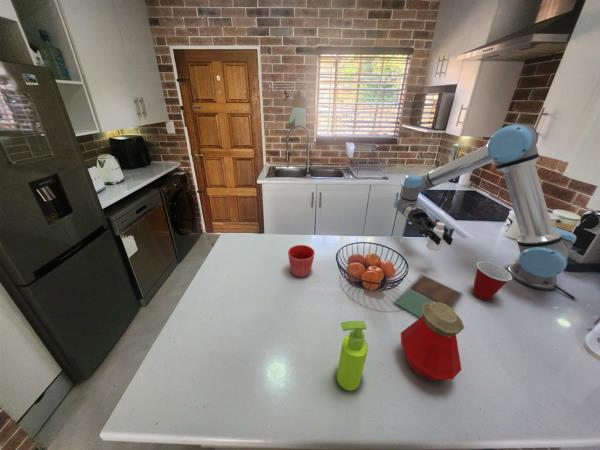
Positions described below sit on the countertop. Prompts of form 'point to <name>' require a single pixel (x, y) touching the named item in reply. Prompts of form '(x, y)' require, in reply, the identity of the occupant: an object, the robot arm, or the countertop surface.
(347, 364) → the soap dispenser
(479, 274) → the plastic cup
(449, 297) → the walnut pad
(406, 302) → the sage mat
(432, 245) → the pepper shaker
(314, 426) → the countertop surface
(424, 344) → the bottle
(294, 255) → the flower pot
